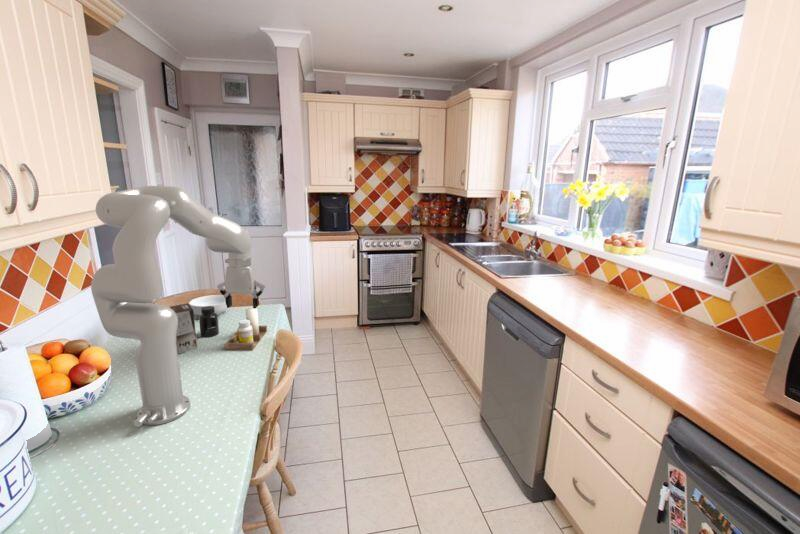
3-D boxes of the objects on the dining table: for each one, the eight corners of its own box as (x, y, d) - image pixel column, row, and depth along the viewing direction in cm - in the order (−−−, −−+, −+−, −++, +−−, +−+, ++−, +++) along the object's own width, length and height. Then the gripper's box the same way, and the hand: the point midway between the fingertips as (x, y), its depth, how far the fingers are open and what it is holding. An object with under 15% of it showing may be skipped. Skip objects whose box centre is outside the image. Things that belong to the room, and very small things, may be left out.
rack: (252, 351, 140) (252, 344, 140) (225, 351, 140) (224, 344, 139) (267, 332, 158) (267, 325, 157) (243, 331, 157) (242, 325, 157)
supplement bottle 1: (211, 339, 149) (209, 311, 146) (196, 337, 150) (193, 309, 147) (223, 332, 156) (220, 305, 153) (208, 331, 157) (205, 304, 154)
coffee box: (198, 349, 141) (193, 309, 137) (178, 354, 137) (173, 313, 133) (193, 341, 148) (188, 302, 144) (174, 345, 144) (169, 305, 140)
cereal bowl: (236, 308, 184) (234, 294, 182) (222, 321, 167) (221, 306, 166) (200, 307, 182) (198, 294, 181) (183, 321, 166) (181, 306, 165)
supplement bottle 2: (252, 347, 143) (251, 323, 141) (237, 348, 141) (236, 325, 139) (253, 341, 148) (252, 318, 146) (239, 342, 146) (237, 319, 144)
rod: (258, 336, 151) (256, 310, 149) (247, 337, 150) (244, 311, 148) (260, 332, 155) (257, 307, 153) (248, 333, 154) (246, 308, 152)
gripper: (211, 264, 133) (214, 309, 136) (260, 265, 133) (262, 311, 137) (220, 260, 140) (223, 303, 144) (267, 261, 141) (268, 304, 144)
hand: (242, 307), depth 140 cm, fingers open, 9 cm apart
